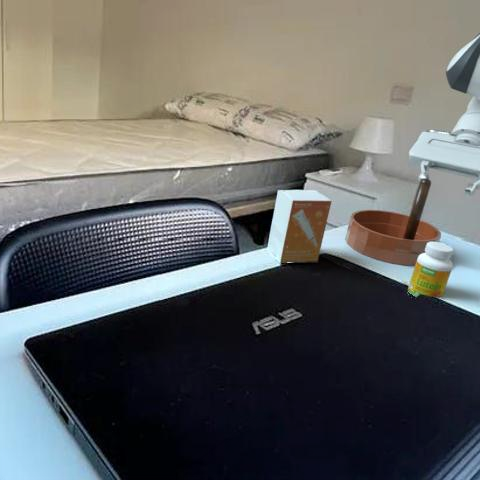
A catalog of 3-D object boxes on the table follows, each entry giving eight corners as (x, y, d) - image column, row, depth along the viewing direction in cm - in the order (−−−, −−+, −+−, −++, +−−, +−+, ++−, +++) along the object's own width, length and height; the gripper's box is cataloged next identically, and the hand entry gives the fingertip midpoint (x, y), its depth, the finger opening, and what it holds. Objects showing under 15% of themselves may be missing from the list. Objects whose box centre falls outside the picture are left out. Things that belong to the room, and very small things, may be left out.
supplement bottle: (407, 299, 85) (423, 248, 82) (406, 286, 90) (421, 237, 86) (442, 308, 84) (460, 255, 80) (438, 294, 88) (456, 244, 84)
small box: (279, 265, 94) (292, 200, 89) (265, 251, 100) (276, 189, 95) (318, 264, 96) (332, 200, 91) (302, 250, 102) (315, 189, 96)
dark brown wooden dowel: (422, 254, 103) (445, 180, 96) (412, 260, 99) (436, 183, 93) (397, 245, 106) (418, 173, 100) (386, 251, 103) (407, 176, 96)
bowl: (444, 255, 105) (453, 229, 103) (412, 277, 94) (421, 248, 92) (367, 229, 116) (373, 204, 114) (329, 245, 105) (336, 219, 103)
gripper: (423, 118, 113) (394, 166, 110) (529, 136, 99) (498, 191, 97) (425, 137, 117) (397, 183, 115) (526, 156, 104) (497, 209, 101)
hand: (444, 187), depth 106 cm, fingers open, 8 cm apart
